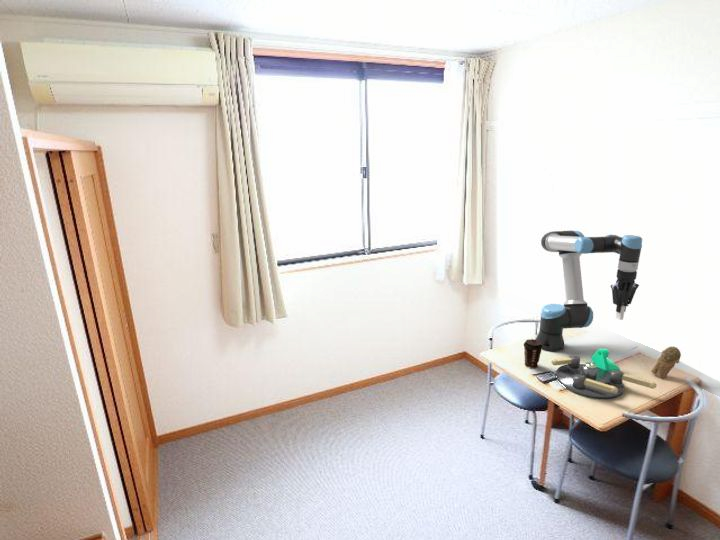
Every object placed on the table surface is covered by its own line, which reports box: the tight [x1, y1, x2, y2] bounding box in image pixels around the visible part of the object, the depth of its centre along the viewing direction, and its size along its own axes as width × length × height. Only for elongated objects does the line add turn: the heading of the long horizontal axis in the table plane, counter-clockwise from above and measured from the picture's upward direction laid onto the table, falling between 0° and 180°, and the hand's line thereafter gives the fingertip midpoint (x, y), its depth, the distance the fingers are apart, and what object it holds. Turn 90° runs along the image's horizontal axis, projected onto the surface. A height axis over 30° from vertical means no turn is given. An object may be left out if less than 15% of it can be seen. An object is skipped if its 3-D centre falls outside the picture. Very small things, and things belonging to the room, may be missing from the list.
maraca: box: [551, 354, 581, 369], centre depth 203 cm, size 14×5×5 cm, turn 100°
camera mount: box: [590, 348, 621, 372], centre depth 206 cm, size 12×8×10 cm, turn 3°
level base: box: [555, 361, 625, 400], centre depth 193 cm, size 28×28×10 cm
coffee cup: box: [523, 339, 543, 369], centre depth 209 cm, size 9×8×13 cm
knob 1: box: [573, 374, 618, 394], centre depth 183 cm, size 18×5×5 cm, turn 49°
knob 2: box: [610, 370, 657, 390], centre depth 186 cm, size 18×5×5 cm, turn 49°
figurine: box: [650, 346, 682, 378], centre depth 196 cm, size 8×8×15 cm
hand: (619, 318), depth 193 cm, fingers closed
